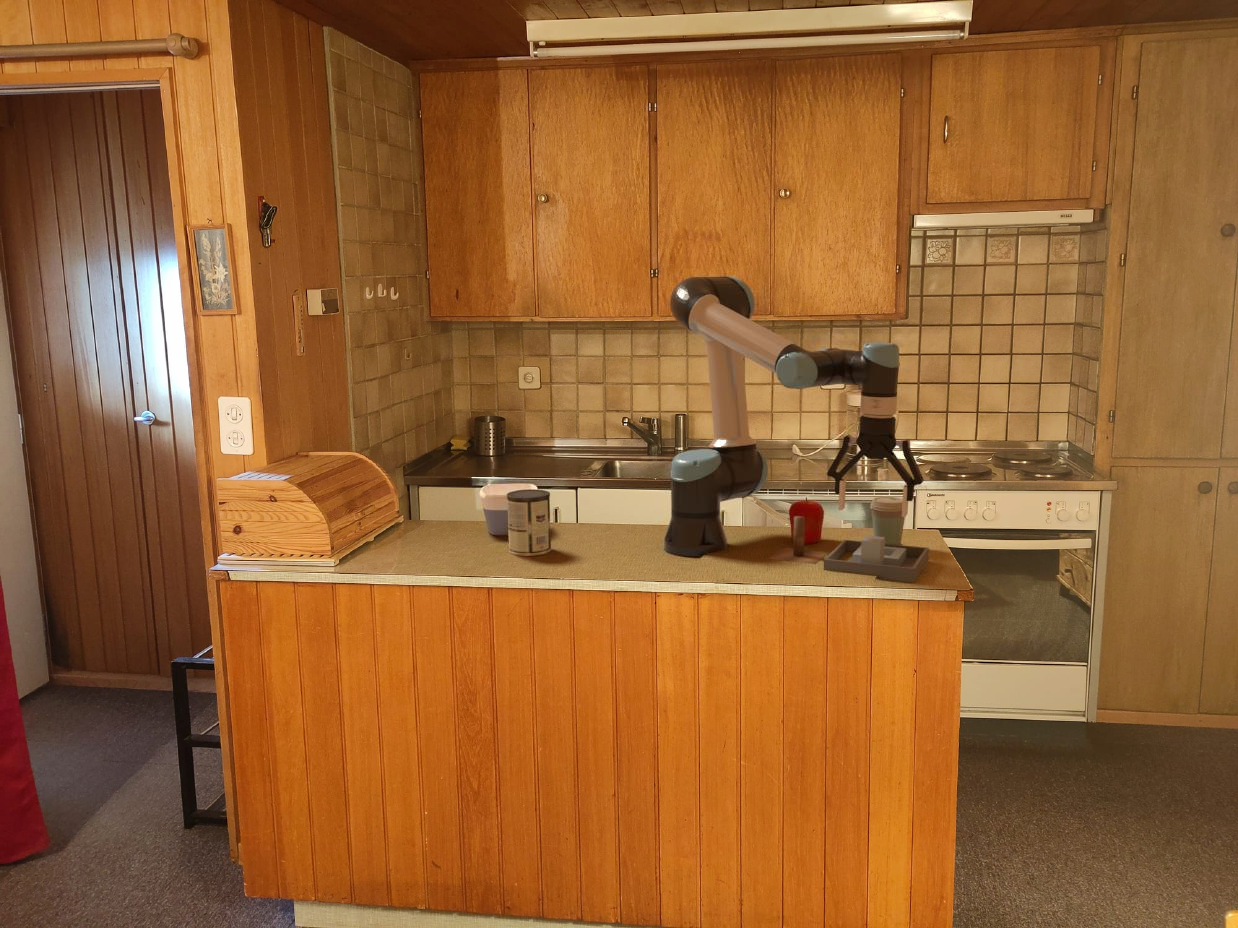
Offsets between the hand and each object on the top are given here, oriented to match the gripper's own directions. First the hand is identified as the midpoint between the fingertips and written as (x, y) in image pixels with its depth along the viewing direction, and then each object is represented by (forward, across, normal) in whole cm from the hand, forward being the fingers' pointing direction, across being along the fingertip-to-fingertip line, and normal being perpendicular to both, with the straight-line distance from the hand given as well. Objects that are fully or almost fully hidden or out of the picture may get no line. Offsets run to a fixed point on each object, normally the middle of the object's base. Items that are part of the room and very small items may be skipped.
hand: (872, 512), depth 226 cm
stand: (+14, -17, +5) cm, 23 cm away
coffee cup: (+14, 0, +22) cm, 26 cm away
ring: (+13, +1, +5) cm, 14 cm away
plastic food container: (+16, -93, +3) cm, 95 cm away
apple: (+14, -19, +19) cm, 30 cm away
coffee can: (+15, -78, -13) cm, 81 cm away
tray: (+14, +1, +5) cm, 14 cm away
